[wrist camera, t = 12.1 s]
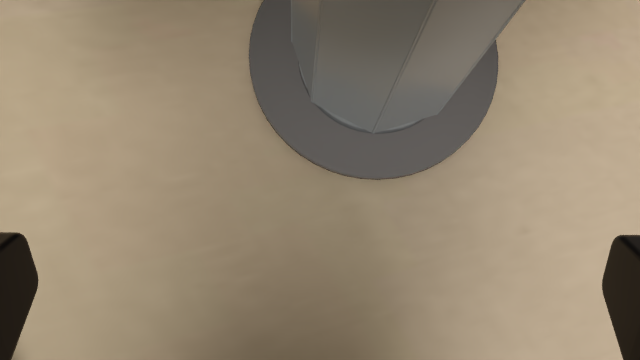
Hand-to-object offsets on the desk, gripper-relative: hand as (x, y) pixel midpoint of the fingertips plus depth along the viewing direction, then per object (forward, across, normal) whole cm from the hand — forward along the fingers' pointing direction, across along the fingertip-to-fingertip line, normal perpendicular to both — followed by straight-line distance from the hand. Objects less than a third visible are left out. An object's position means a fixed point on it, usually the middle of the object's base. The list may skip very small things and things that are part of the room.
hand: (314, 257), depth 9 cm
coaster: (+14, -2, +2) cm, 14 cm away
